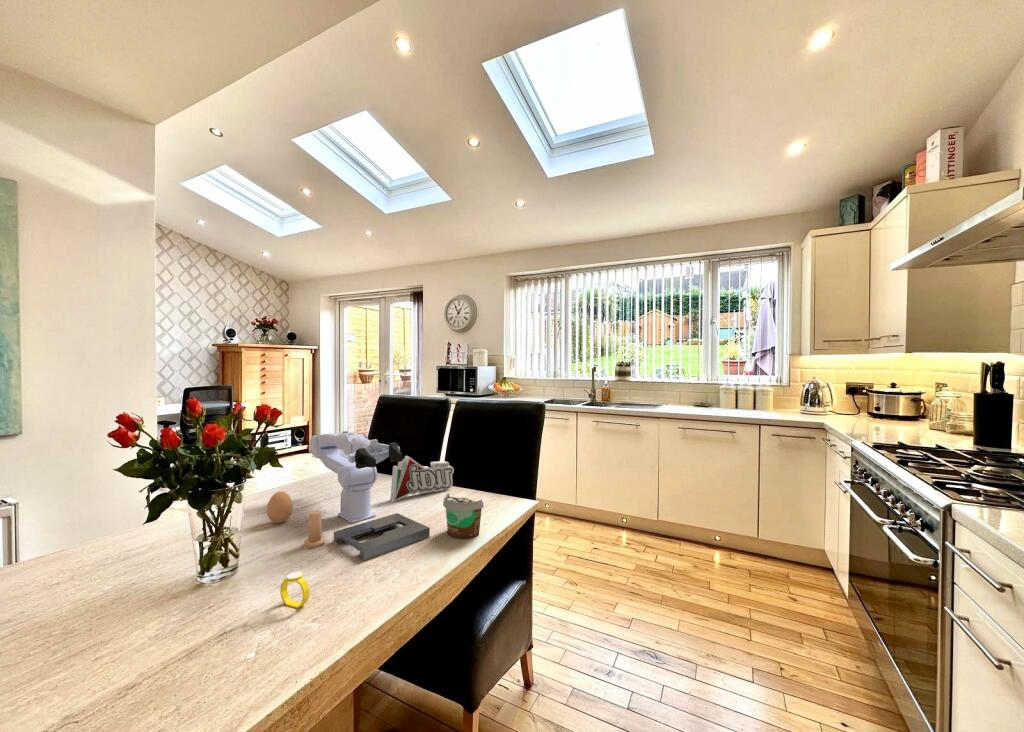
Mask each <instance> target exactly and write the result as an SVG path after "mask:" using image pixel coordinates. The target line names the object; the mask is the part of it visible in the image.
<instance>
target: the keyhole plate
mask: <svg viewBox="0 0 1024 732" xmlns="http://www.w3.org/2000/svg"><path fill="white" fill-rule="evenodd" d="M398 525H400V526H399V527H397V528H394V529H391V530H388V531H384V532H383V533H382V535H380V536H377V537H374V538H371V539H368V540H366V541H362V542H360V541H358V540H356V538H358V537H361V536H364V535H368V534H371V533H375V532H378V531H381V530H386V529H388V528H390V527H394V526H398ZM430 530H431V529H430V527H429V526H427V525H424V524H422V523H420V522H418V521H416V520H414V519H411V518H409V517H406V516H404V515H403V514H400V513H393V514H390V515H386V516H382V517H380V518H375V519H372V520H369V521H365V522H362V523H359V524H355V525H352V526H348V527H345V528H342V529H338V530H335V531H333V542H334V543H336V544H340V543H342V542H345V543H346V544H348V545H349V546H351V547H352V548H353V549H355V550H357V551H359V559H360V560H362V561H364V562H366V561H368V560H370V559H373V558H375V557H378V556H381V555H384V554H387V553H390V552H392V551H395V550H397V549H401V548H403V547H406V546H409V545H411V544H414V543H417V542H419V541H420V542H421V541H422V540H425V539H428V538H430V534H431V533H430Z"/></svg>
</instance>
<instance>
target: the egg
mask: <svg viewBox="0 0 1024 732" xmlns="http://www.w3.org/2000/svg"><path fill="white" fill-rule="evenodd" d="M266 505H267V506H266V514H267V518H268V519H269V520H270V521H271V522H272V523H274V524H281V523H284V522H286V521H287V520H288V519H289V518H290V516H291V515H292V512H293V506H294V505H293V500H292V498H291V496H290V495H289V494H288V493H287V492H285V491H281V490H280V491H277V492H275V493H274V494H273V495H271V497H270V499H269V500H268V503H267V504H266Z"/></svg>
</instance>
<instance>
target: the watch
mask: <svg viewBox="0 0 1024 732" xmlns="http://www.w3.org/2000/svg"><path fill="white" fill-rule="evenodd" d="M295 582H296V583H297V584H298V585H299V586H300V588H301V592H302V600H301V602H298V601H294V600H292V598H291V596H290V594H289V591H288V585H289V584H288V583H295ZM279 593H280V596H281V600H282V602H283V603H284V605H285V606H286V607H290V608H296V609H300V608H301V607H303V606H304V605H305V604H307V603H308V600H309V597H310V586H309V584H308V582H307V580H306V579H305V578H304V573H303V572H302V571H294V572H291V573H288V574H287V576H286V578H285V579H283V580H282V583H281V585H280V592H279Z"/></svg>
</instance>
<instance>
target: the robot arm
mask: <svg viewBox="0 0 1024 732" xmlns="http://www.w3.org/2000/svg"><path fill="white" fill-rule="evenodd" d="M309 448H310V451H311V455H312V456H313V457H315V458H317V459H319V460H320V462H322V464H323V465H324V466H325V468H326V469H329V470H330V471H331V472H334V473H335V474H337V482H338V484H340V487H341V488H342V490H341V492H340V511H339V513H337V515H336V516H338V517H341V518H342V519H344V520H346V521H347V522H349V523H351V524H353V523H357V522H360V521H364V520H368V519H370V518H373V517H376V516H377V514H376V513H374V512H372V511H371V497H372V496H371V490H372V489H371V488H373V487H374V484H375V483H376V481H377V479H378V470H377V464H379V463H381V462H383V461H385V460H386V459H387V458H389V463H393V462H397V463H398V462H401V461H403V460H404V458H403V453H402V452H401V447H400V446H399V445H398V443H397V442H396V441H394V442H388V444H385V443H379V441H378V439H376V438H375V439H369V438H368V436H367V435H366V434H365V433H363V432H362V433H360V434H355V432H349V430H342V432H333V433H325V434H317V435H312V436H311V437H310V440H309ZM344 455H345V456H347V457H348V458H346V457H345V456H344Z"/></svg>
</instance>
